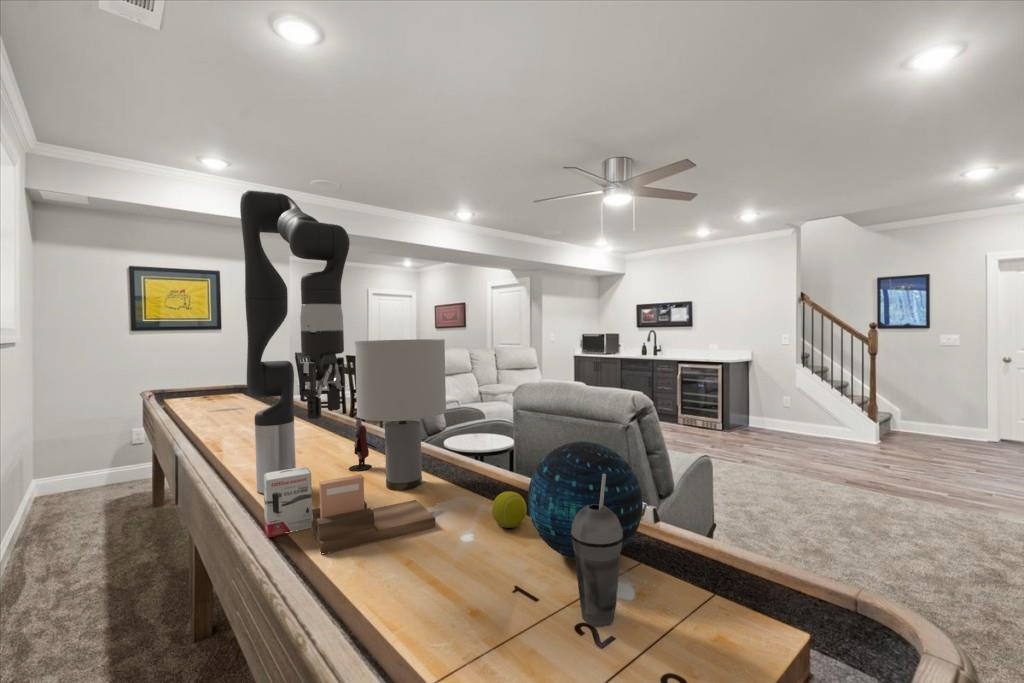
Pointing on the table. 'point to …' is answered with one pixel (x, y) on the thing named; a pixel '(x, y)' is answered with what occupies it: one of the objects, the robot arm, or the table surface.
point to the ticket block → (369, 525)
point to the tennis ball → (509, 509)
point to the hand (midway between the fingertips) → (324, 414)
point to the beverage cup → (597, 560)
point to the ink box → (287, 501)
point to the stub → (341, 495)
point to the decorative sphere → (581, 492)
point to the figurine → (361, 447)
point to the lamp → (401, 398)
